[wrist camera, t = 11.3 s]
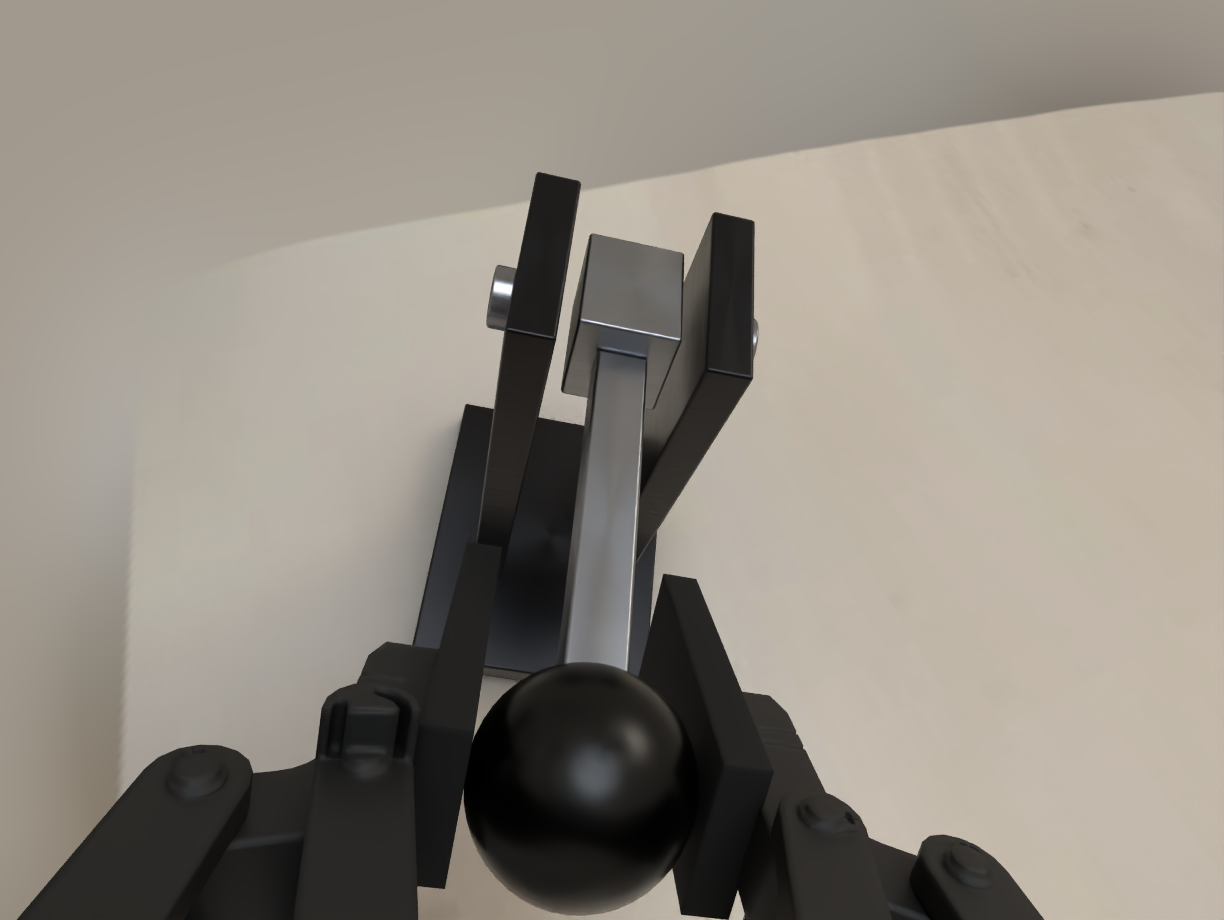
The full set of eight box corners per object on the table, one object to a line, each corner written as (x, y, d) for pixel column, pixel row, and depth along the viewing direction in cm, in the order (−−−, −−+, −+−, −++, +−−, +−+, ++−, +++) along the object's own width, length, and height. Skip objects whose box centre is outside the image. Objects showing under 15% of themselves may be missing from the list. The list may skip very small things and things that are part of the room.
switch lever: (660, 938, 13) (733, 915, 10) (438, 914, 13) (447, 883, 10) (678, 347, 21) (723, 237, 18) (541, 319, 20) (564, 202, 17)
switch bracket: (637, 697, 28) (831, 519, 15) (410, 664, 27) (391, 441, 14) (656, 453, 33) (814, 150, 20) (464, 418, 32) (490, 72, 19)
